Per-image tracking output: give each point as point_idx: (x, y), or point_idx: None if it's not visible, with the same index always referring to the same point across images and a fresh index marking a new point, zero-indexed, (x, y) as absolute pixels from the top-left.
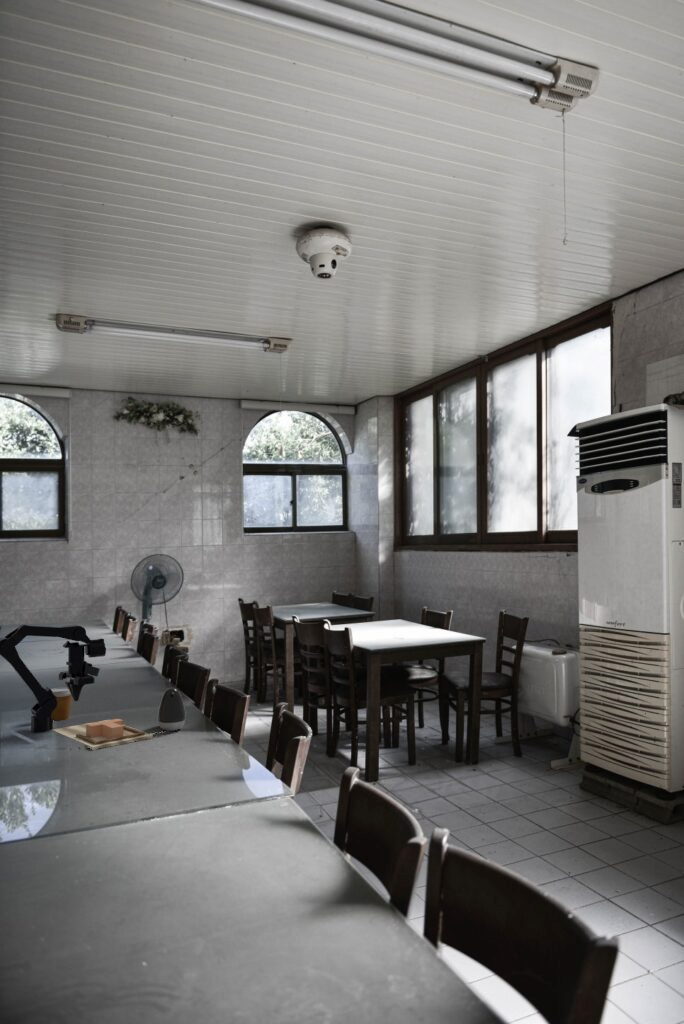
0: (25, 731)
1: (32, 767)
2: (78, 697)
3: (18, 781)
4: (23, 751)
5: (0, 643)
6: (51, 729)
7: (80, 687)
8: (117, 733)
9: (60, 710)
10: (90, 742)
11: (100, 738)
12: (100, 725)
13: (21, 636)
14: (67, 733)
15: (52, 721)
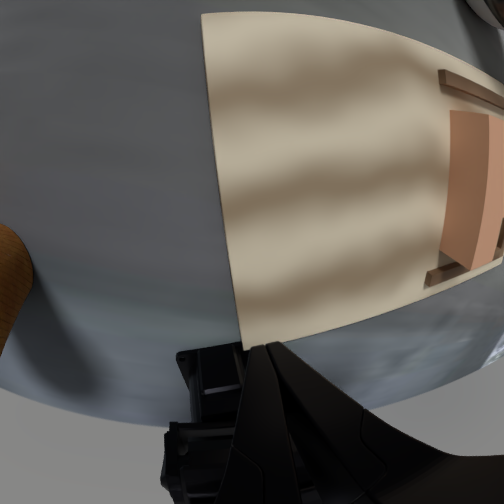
0: (156, 399)
1: (467, 357)
2: (305, 367)
3: (481, 362)
4: (390, 389)
5: None
6: (236, 350)
7: (421, 469)
8: None
9: (9, 308)
10: None
11: None
12: (497, 222)
13: None
14: (363, 303)
15: (242, 375)
